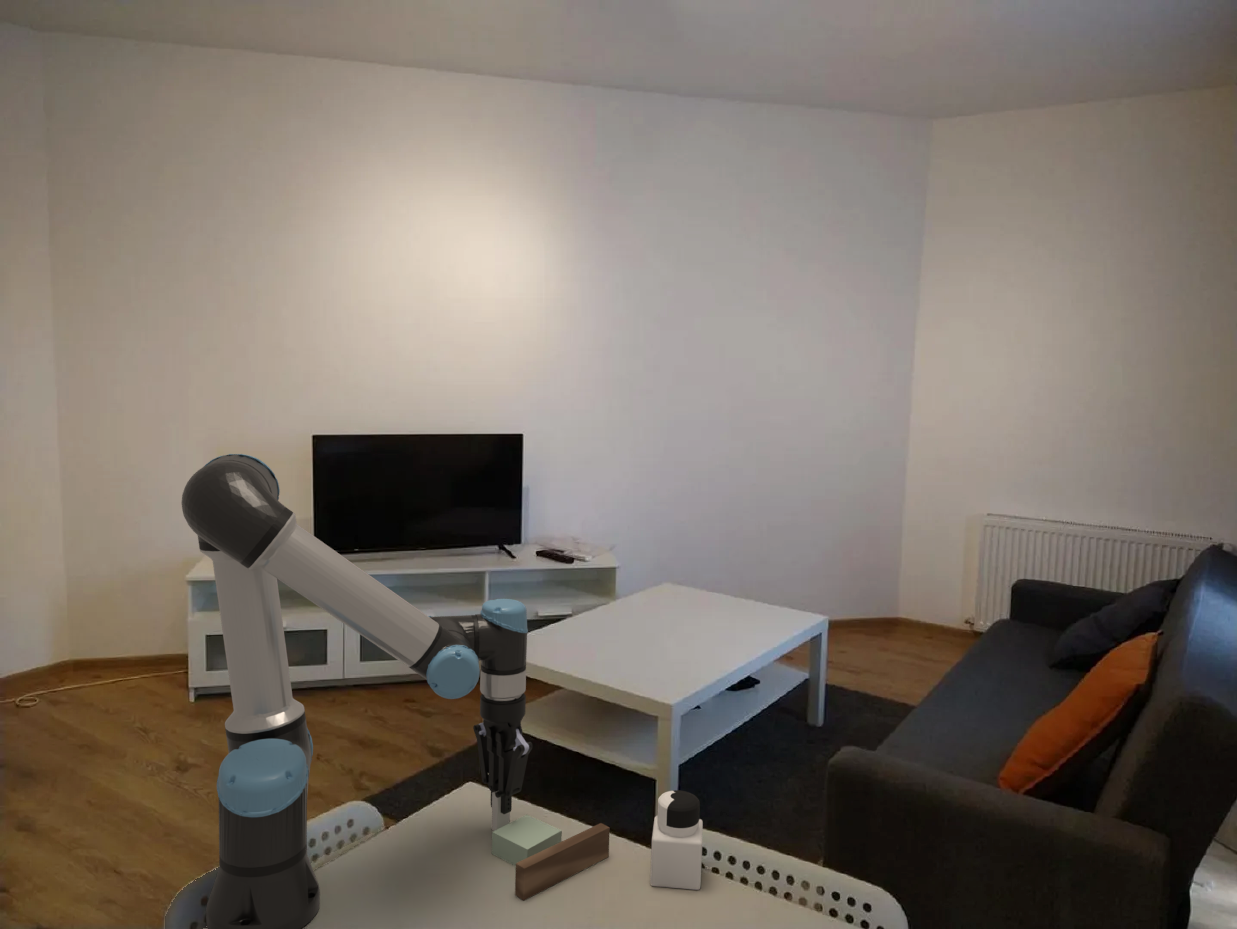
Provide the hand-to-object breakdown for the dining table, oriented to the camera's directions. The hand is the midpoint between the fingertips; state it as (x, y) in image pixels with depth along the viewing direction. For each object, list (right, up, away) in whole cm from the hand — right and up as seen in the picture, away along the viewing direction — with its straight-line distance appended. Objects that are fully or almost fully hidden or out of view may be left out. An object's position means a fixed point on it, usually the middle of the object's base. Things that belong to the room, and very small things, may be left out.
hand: (500, 828), depth 152 cm
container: (+29, -4, -10) cm, 31 cm away
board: (+11, -3, -11) cm, 16 cm away
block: (+5, -2, -5) cm, 7 cm away
